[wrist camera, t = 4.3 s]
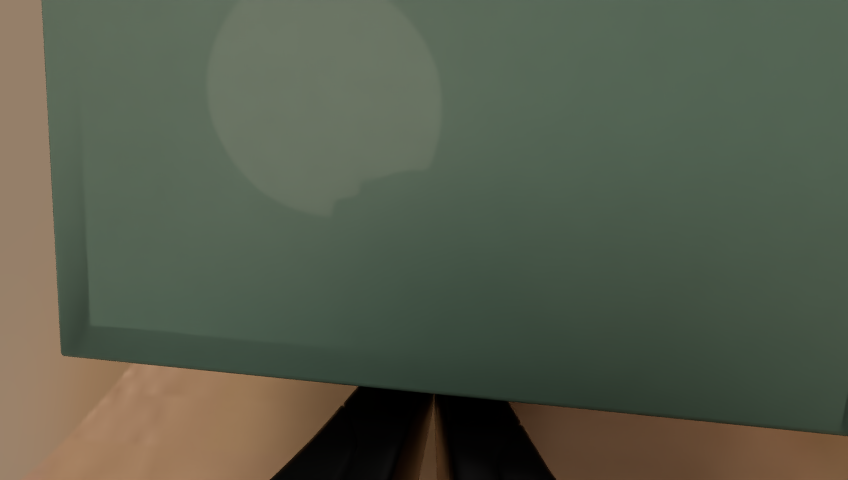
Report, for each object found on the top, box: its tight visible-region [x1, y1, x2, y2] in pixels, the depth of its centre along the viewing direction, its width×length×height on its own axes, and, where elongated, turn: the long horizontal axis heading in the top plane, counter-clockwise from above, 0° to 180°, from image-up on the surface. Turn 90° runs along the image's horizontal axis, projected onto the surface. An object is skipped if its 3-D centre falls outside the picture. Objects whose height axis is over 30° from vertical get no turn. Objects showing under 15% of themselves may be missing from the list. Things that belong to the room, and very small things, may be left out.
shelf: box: [42, 0, 848, 436], centre depth 10 cm, size 6×11×12 cm, turn 86°
